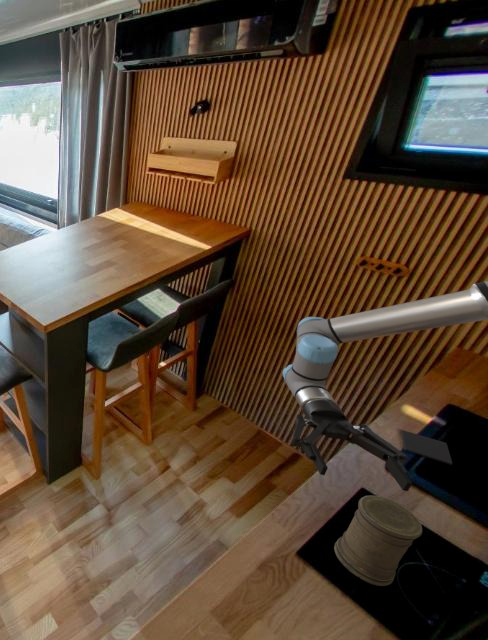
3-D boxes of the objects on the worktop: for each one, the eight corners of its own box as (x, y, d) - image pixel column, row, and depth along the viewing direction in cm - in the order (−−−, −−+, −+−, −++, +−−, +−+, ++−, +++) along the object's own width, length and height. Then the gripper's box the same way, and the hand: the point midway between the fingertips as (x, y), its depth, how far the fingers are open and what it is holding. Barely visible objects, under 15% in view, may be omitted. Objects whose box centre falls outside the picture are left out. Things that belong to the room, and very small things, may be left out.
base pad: (445, 445, 99) (446, 442, 99) (451, 466, 95) (452, 463, 94) (400, 432, 105) (401, 429, 104) (403, 451, 100) (405, 448, 99)
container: (379, 595, 75) (412, 547, 67) (324, 553, 83) (348, 506, 75) (402, 572, 78) (436, 523, 70) (346, 533, 85) (371, 485, 78)
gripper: (379, 427, 94) (438, 505, 77) (259, 410, 104) (288, 475, 87) (389, 406, 91) (454, 482, 73) (265, 391, 101) (296, 454, 84)
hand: (364, 478), depth 80 cm, fingers open, 13 cm apart
